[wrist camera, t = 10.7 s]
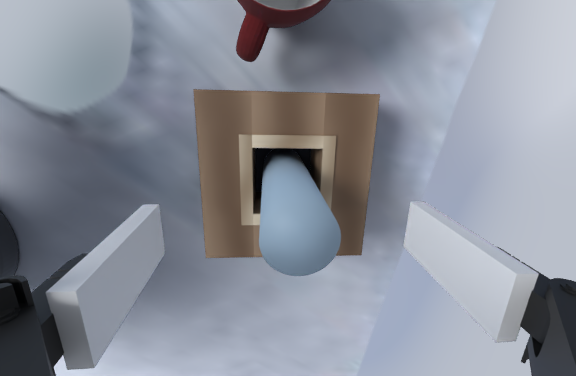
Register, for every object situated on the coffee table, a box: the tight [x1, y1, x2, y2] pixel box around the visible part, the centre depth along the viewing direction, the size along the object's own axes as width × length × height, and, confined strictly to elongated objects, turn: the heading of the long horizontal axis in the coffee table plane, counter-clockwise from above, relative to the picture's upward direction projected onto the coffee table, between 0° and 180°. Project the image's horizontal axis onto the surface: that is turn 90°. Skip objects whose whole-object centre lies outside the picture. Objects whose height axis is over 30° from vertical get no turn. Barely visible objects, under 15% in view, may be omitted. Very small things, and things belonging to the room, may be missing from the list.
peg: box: [259, 148, 341, 276], centre depth 21 cm, size 4×4×16 cm
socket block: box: [194, 89, 380, 258], centre depth 26 cm, size 14×14×6 cm
